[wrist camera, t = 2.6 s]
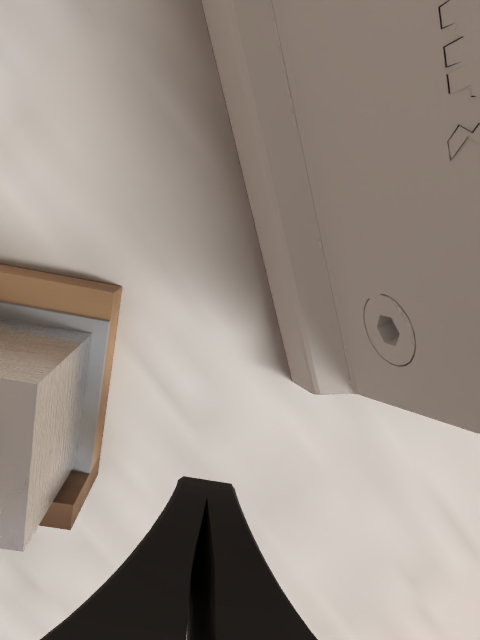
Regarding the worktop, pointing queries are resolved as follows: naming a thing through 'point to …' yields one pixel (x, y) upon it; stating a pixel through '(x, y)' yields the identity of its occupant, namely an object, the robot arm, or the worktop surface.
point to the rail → (100, 319)
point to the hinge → (364, 189)
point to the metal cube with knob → (37, 420)
